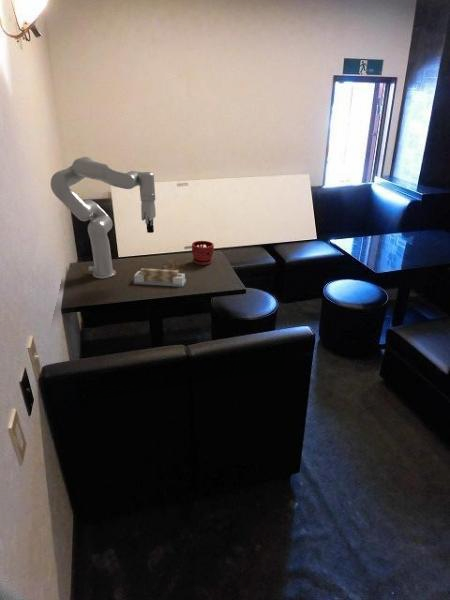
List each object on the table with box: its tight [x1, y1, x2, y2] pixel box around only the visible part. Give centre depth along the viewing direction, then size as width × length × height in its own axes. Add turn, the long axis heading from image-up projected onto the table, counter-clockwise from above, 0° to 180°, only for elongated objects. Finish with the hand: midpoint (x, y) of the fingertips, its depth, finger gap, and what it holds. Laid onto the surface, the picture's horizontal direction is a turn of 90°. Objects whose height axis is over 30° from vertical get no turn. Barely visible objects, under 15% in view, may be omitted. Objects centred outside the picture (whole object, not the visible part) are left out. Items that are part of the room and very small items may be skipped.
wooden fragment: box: [161, 259, 182, 273], centre depth 240 cm, size 26×11×1 cm, turn 4°
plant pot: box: [191, 240, 215, 266], centre depth 245 cm, size 13×13×12 cm
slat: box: [140, 267, 179, 282], centre depth 217 cm, size 20×2×6 cm, turn 82°
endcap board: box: [133, 270, 187, 287], centre depth 218 cm, size 27×8×4 cm, turn 82°
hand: (150, 232), depth 216 cm, fingers closed
